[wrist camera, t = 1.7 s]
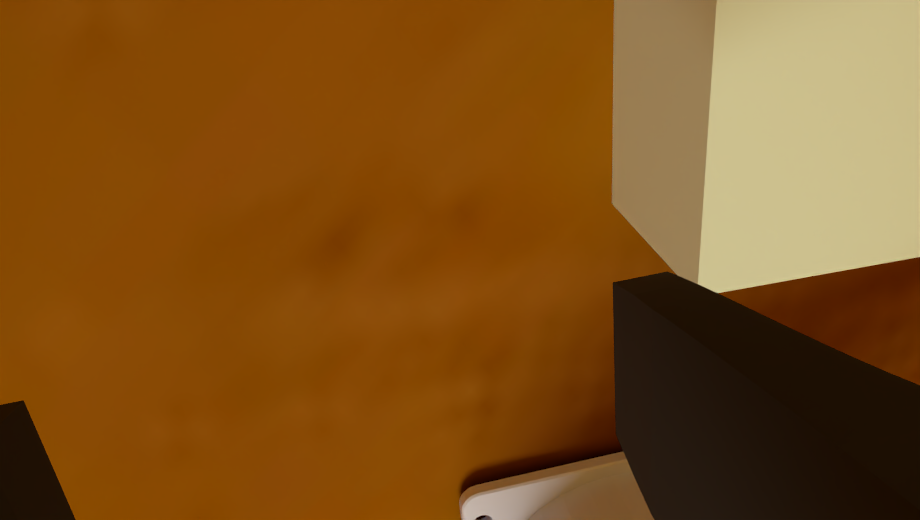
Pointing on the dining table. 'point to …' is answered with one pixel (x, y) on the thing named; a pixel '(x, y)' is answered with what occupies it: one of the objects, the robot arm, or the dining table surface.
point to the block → (768, 135)
